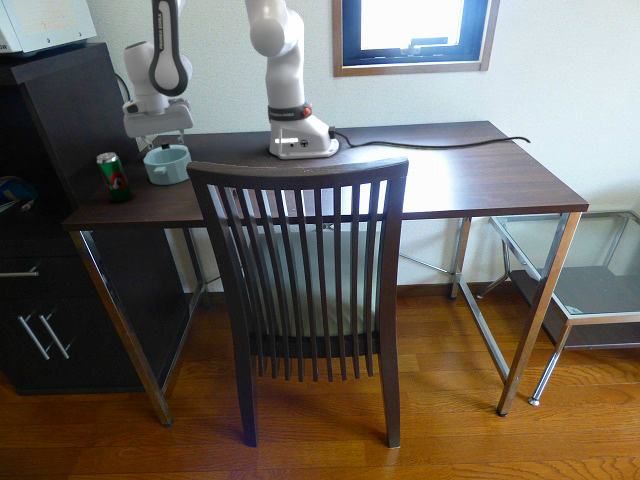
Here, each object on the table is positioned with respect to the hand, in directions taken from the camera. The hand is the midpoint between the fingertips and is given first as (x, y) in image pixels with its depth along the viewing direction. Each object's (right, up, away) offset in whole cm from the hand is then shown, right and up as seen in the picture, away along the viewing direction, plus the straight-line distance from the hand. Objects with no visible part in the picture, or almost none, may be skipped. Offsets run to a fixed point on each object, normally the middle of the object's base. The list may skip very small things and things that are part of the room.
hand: (166, 145), depth 125 cm
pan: (+6, -12, -12) cm, 18 cm away
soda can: (-2, -20, -23) cm, 30 cm away
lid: (0, -2, +2) cm, 3 cm away
